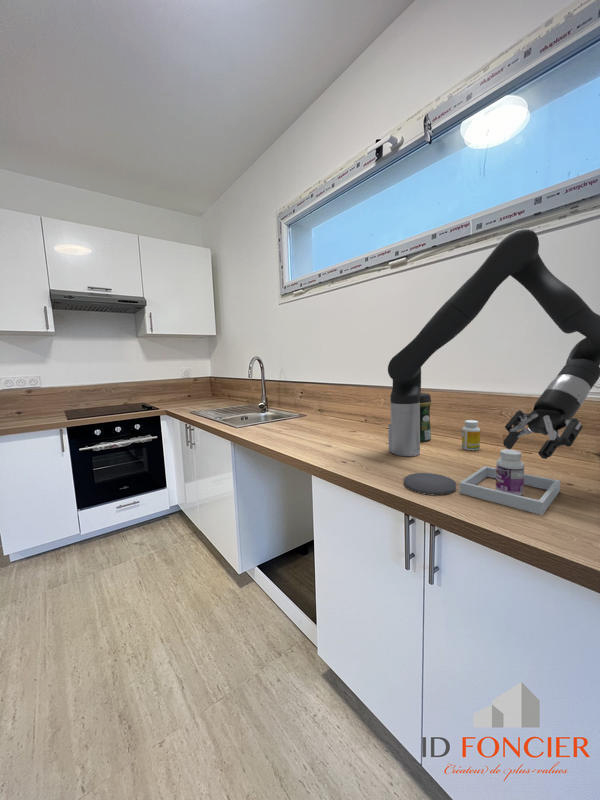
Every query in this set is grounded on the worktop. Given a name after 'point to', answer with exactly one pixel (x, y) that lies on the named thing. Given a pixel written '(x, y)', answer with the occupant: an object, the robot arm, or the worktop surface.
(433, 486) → the charcoal mat
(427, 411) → the coffee jar
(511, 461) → the pill bottle
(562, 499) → the worktop surface
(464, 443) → the supplement bottle
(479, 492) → the grey tray
